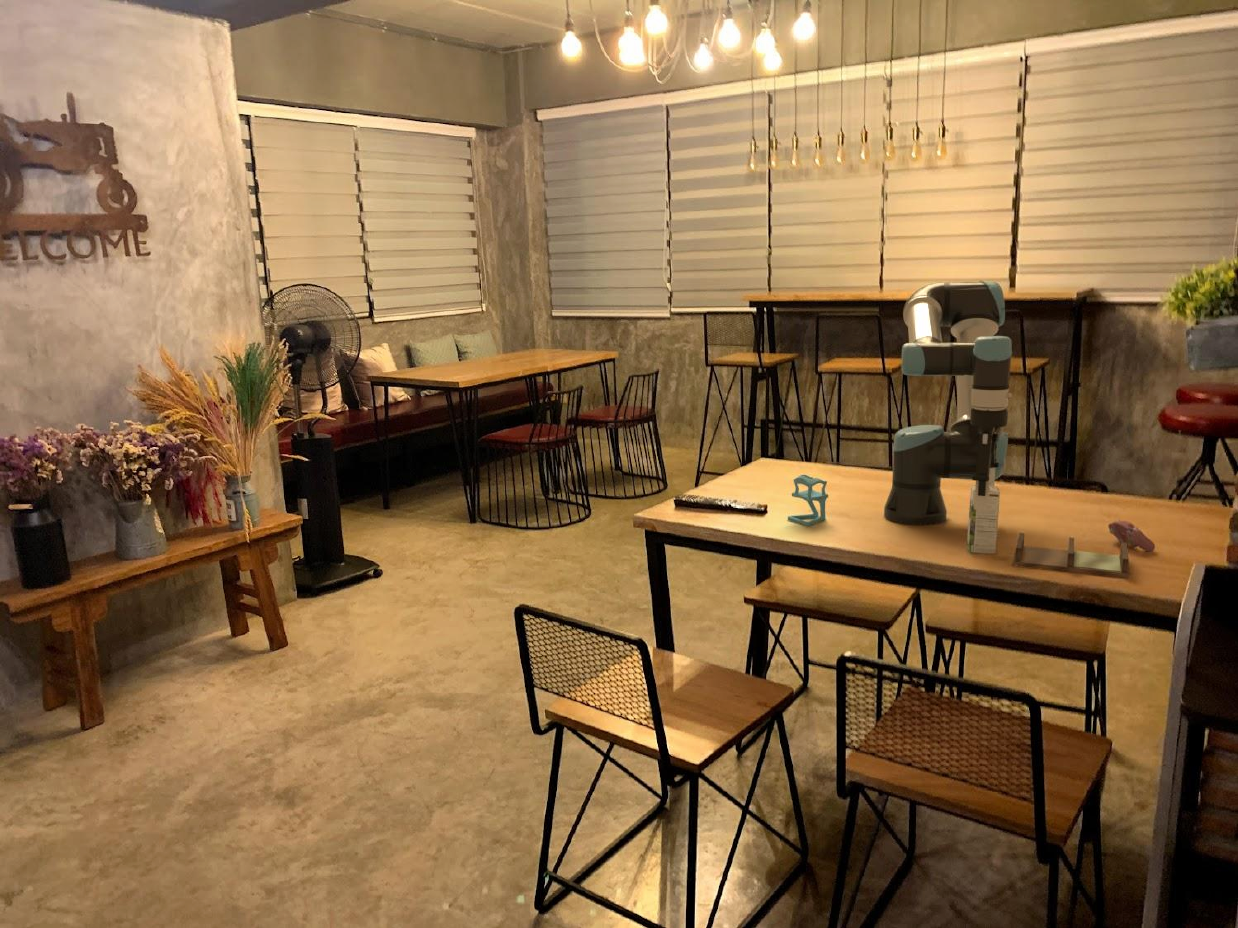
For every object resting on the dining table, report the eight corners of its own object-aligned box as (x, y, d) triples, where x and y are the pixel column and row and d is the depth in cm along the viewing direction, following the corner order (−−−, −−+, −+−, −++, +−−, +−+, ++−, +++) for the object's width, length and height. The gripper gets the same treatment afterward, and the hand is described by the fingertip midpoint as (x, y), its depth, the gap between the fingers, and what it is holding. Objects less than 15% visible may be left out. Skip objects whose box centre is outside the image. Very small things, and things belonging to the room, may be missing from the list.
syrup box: (966, 545, 209) (969, 484, 206) (993, 546, 208) (997, 484, 205) (968, 553, 204) (971, 490, 201) (996, 554, 202) (1000, 491, 199)
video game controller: (1112, 546, 210) (1101, 521, 209) (1129, 536, 210) (1119, 511, 209) (1140, 559, 201) (1128, 533, 199) (1158, 549, 201) (1147, 523, 199)
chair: (832, 521, 232) (833, 475, 229) (807, 526, 228) (808, 479, 225) (811, 514, 238) (812, 470, 236) (787, 519, 234) (787, 474, 232)
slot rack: (1012, 565, 195) (1013, 547, 194) (1016, 549, 205) (1017, 532, 204) (1129, 578, 185) (1131, 559, 184) (1127, 560, 196) (1129, 542, 195)
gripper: (1003, 417, 186) (997, 517, 191) (1012, 401, 208) (1006, 491, 212) (964, 415, 190) (959, 514, 194) (977, 399, 211) (972, 489, 216)
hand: (984, 502), depth 203 cm, fingers open, 13 cm apart
